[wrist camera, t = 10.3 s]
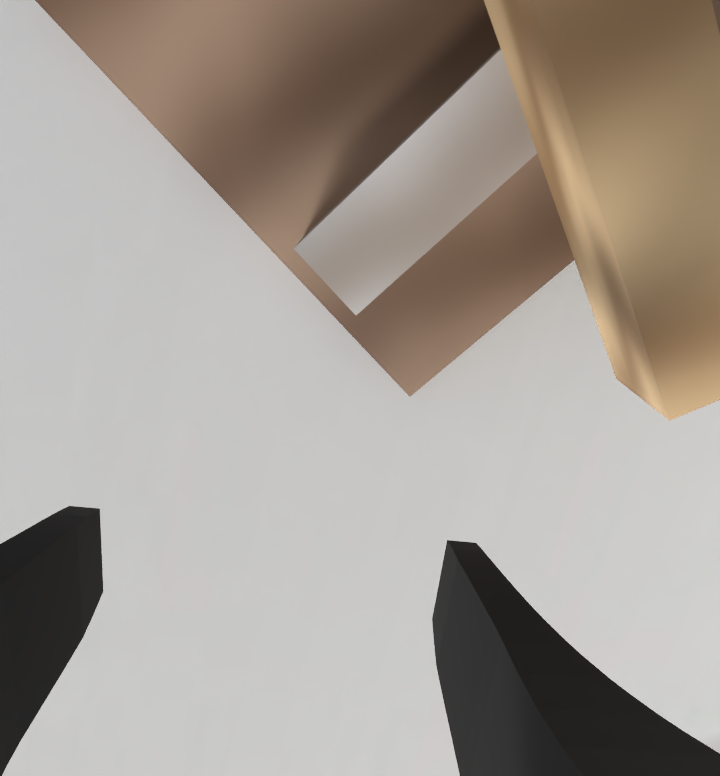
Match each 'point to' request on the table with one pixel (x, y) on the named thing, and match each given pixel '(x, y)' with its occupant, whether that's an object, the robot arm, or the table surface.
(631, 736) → the robot arm
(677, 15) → the oak bar
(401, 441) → the table surface
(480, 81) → the stand
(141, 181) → the table surface
